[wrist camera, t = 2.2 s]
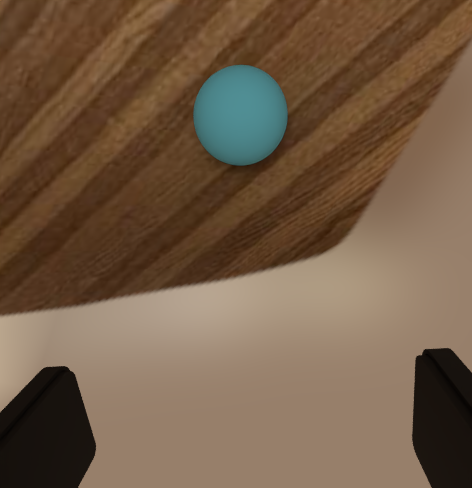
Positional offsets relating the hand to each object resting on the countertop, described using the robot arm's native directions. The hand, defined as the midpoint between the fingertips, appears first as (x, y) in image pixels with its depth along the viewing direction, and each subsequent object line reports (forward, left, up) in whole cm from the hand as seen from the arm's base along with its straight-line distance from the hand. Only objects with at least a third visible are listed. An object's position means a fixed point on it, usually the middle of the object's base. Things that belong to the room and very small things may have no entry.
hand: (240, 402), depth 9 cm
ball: (0, +8, -16) cm, 18 cm away
